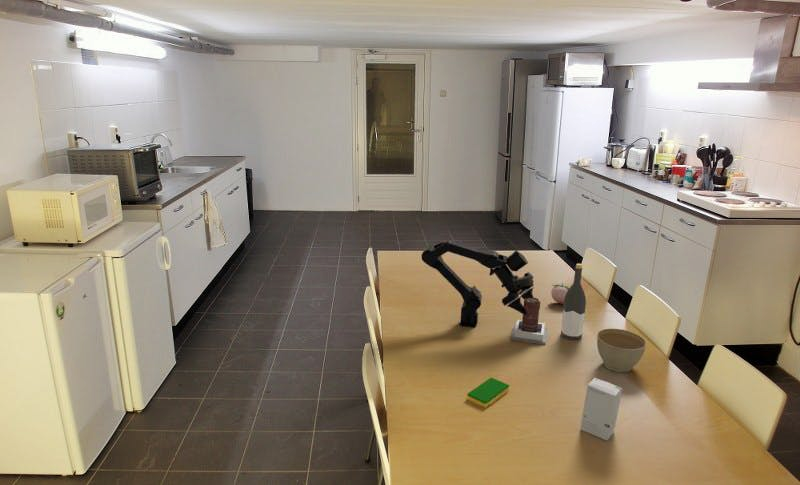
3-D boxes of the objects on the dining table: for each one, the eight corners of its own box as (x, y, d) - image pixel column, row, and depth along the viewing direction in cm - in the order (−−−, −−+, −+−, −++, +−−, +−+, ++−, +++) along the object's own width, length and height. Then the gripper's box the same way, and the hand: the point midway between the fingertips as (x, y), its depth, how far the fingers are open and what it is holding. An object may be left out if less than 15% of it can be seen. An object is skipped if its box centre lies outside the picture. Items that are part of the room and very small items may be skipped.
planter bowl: (620, 382, 181) (624, 353, 178) (583, 361, 194) (587, 333, 191) (652, 371, 188) (657, 343, 185) (615, 351, 201) (619, 325, 198)
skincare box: (579, 430, 155) (585, 384, 151) (587, 420, 160) (593, 376, 156) (608, 442, 150) (615, 395, 146) (616, 432, 155) (622, 386, 150)
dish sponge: (509, 391, 175) (509, 384, 175) (485, 409, 166) (485, 402, 165) (490, 383, 180) (491, 376, 179) (466, 400, 170) (466, 393, 169)
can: (537, 336, 211) (540, 303, 207) (521, 334, 212) (523, 301, 208) (537, 329, 216) (540, 297, 212) (521, 328, 218) (524, 295, 214)
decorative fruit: (548, 305, 243) (550, 285, 240) (551, 299, 250) (553, 279, 247) (570, 309, 239) (572, 288, 236) (572, 302, 247) (574, 282, 244)
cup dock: (510, 339, 210) (511, 331, 209) (514, 326, 222) (515, 318, 221) (545, 344, 206) (545, 336, 205) (546, 330, 218) (547, 322, 217)
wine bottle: (583, 333, 216) (591, 262, 207) (580, 341, 209) (589, 269, 200) (562, 329, 219) (569, 259, 211) (559, 337, 212) (566, 265, 204)
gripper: (511, 274, 202) (536, 308, 199) (531, 261, 216) (555, 293, 213) (491, 288, 209) (515, 322, 205) (511, 276, 223) (534, 307, 220)
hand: (531, 310), depth 211 cm, fingers open, 9 cm apart
